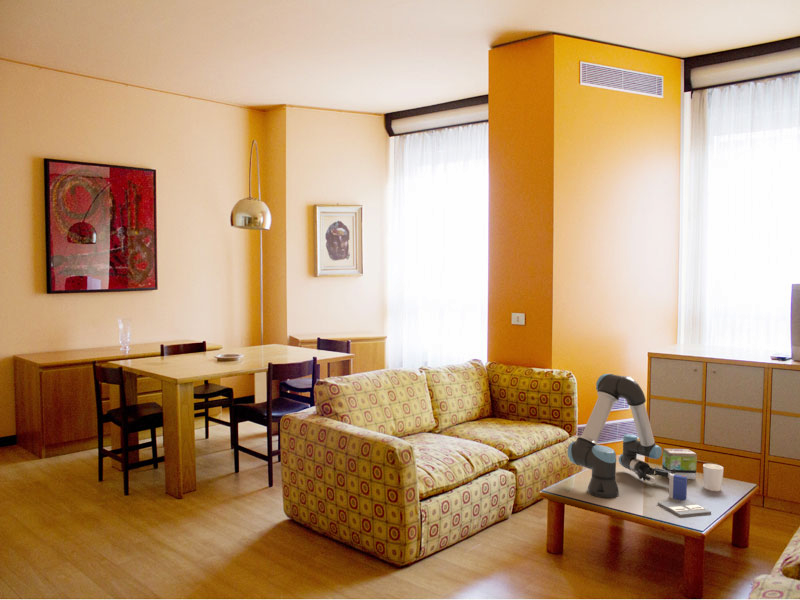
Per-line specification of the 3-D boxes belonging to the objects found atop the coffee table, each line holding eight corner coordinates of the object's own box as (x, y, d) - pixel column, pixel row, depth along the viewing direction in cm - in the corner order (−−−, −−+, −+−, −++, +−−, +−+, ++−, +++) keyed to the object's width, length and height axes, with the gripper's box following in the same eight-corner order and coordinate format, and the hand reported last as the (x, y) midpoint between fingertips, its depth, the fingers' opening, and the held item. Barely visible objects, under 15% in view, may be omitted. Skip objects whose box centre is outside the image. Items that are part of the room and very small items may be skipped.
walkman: (686, 499, 306) (687, 476, 306) (685, 501, 304) (686, 477, 303) (669, 496, 311) (670, 472, 310) (668, 497, 308) (669, 474, 308)
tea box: (669, 479, 337) (670, 453, 337) (661, 473, 347) (662, 448, 347) (696, 479, 337) (697, 453, 337) (687, 473, 347) (688, 448, 347)
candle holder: (725, 488, 323) (726, 466, 323) (719, 493, 316) (720, 470, 316) (706, 484, 330) (706, 462, 330) (699, 488, 323) (700, 466, 323)
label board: (680, 517, 283) (680, 513, 283) (657, 504, 298) (657, 501, 298) (710, 514, 287) (711, 510, 287) (687, 501, 303) (687, 498, 303)
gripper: (659, 472, 340) (686, 485, 319) (620, 475, 333) (645, 488, 313) (659, 459, 339) (686, 471, 319) (620, 462, 333) (645, 474, 313)
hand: (666, 480), depth 316 cm, fingers open, 13 cm apart
